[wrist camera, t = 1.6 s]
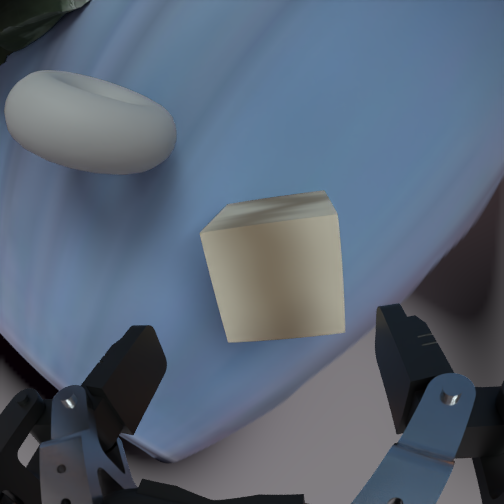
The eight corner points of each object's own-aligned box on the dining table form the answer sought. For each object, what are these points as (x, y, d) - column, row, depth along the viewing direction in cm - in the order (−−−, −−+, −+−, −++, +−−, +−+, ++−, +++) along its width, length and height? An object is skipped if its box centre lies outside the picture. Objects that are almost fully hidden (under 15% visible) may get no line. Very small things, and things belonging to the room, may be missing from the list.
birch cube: (324, 190, 18) (337, 214, 12) (333, 279, 20) (345, 332, 14) (228, 204, 19) (199, 232, 13) (245, 289, 21) (228, 342, 15)
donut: (77, 116, 18) (-32, 124, 8) (95, 73, 16) (-13, 58, 7) (185, 172, 18) (88, 211, 9) (210, 124, 17) (123, 115, 8)
